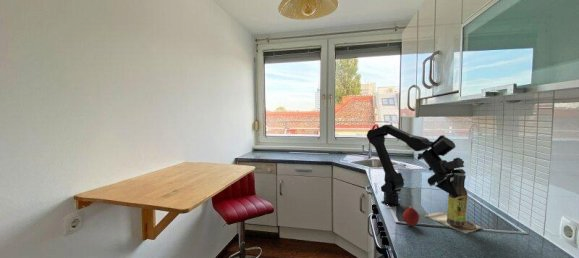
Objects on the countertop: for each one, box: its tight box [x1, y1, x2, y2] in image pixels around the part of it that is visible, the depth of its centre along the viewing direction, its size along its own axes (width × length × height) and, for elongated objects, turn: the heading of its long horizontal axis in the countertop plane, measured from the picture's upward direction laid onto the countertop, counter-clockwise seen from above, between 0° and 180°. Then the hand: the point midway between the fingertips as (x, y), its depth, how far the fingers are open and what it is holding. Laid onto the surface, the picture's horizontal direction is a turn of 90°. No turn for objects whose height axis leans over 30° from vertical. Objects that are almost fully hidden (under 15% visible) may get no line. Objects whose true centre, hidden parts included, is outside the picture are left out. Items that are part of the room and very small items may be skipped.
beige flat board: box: [424, 211, 483, 234], centre depth 106 cm, size 17×10×1 cm, turn 24°
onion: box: [402, 206, 420, 227], centre depth 102 cm, size 6×6×8 cm
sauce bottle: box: [446, 173, 468, 226], centre depth 100 cm, size 6×6×20 cm
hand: (461, 195), depth 99 cm, fingers closed on sauce bottle, 6 cm apart
